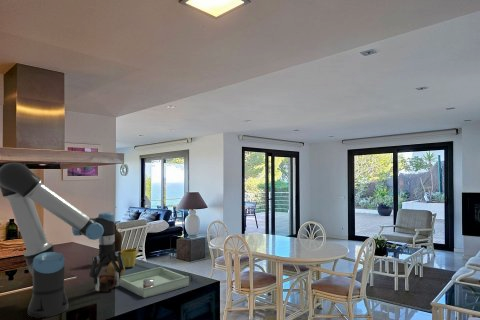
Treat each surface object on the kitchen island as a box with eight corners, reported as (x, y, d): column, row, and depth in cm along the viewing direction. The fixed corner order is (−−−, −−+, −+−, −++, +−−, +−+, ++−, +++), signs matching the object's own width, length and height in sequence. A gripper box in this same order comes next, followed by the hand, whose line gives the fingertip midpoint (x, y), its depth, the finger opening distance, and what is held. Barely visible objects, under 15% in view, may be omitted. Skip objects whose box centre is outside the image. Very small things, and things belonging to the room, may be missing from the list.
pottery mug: (91, 292, 168) (94, 275, 172) (104, 295, 175) (107, 278, 180) (110, 289, 164) (112, 272, 168) (123, 292, 172) (125, 275, 176)
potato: (110, 281, 183) (110, 267, 184) (104, 275, 195) (104, 261, 195) (128, 278, 189) (128, 264, 189) (121, 272, 200) (121, 258, 201)
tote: (144, 299, 158) (144, 289, 159) (119, 285, 177) (119, 276, 177) (189, 285, 177) (189, 276, 177) (162, 274, 195) (162, 266, 195)
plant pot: (116, 267, 210) (117, 251, 210) (126, 263, 220) (126, 248, 220) (131, 268, 207) (131, 252, 208) (140, 264, 217) (140, 249, 217)
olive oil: (122, 262, 222) (122, 224, 223) (105, 264, 218) (105, 225, 219) (121, 258, 232) (121, 222, 233) (104, 260, 228) (104, 223, 228)
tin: (146, 295, 161) (146, 282, 161) (141, 292, 165) (141, 280, 165) (155, 292, 165) (155, 280, 165) (150, 290, 168) (150, 277, 168)
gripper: (87, 248, 160) (87, 295, 160) (130, 240, 176) (131, 283, 175) (81, 246, 165) (82, 291, 165) (124, 238, 181) (124, 280, 181)
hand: (107, 287), depth 170 cm, fingers closed on pottery mug, 9 cm apart
